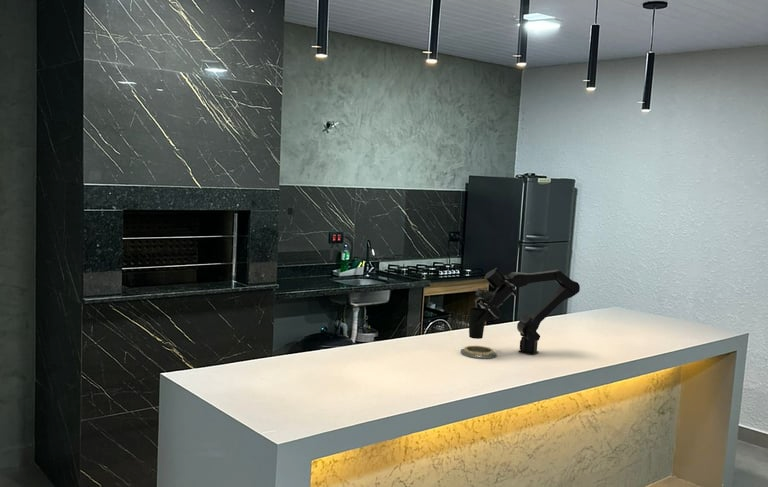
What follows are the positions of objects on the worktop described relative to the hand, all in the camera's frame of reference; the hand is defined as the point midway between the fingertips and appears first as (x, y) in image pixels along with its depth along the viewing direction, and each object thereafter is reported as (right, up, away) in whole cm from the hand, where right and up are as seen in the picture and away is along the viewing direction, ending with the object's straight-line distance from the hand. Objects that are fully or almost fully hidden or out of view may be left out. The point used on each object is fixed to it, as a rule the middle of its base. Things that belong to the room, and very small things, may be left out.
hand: (473, 321), depth 289 cm
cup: (+1, -7, +1) cm, 7 cm away
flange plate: (+2, -14, -1) cm, 14 cm away
